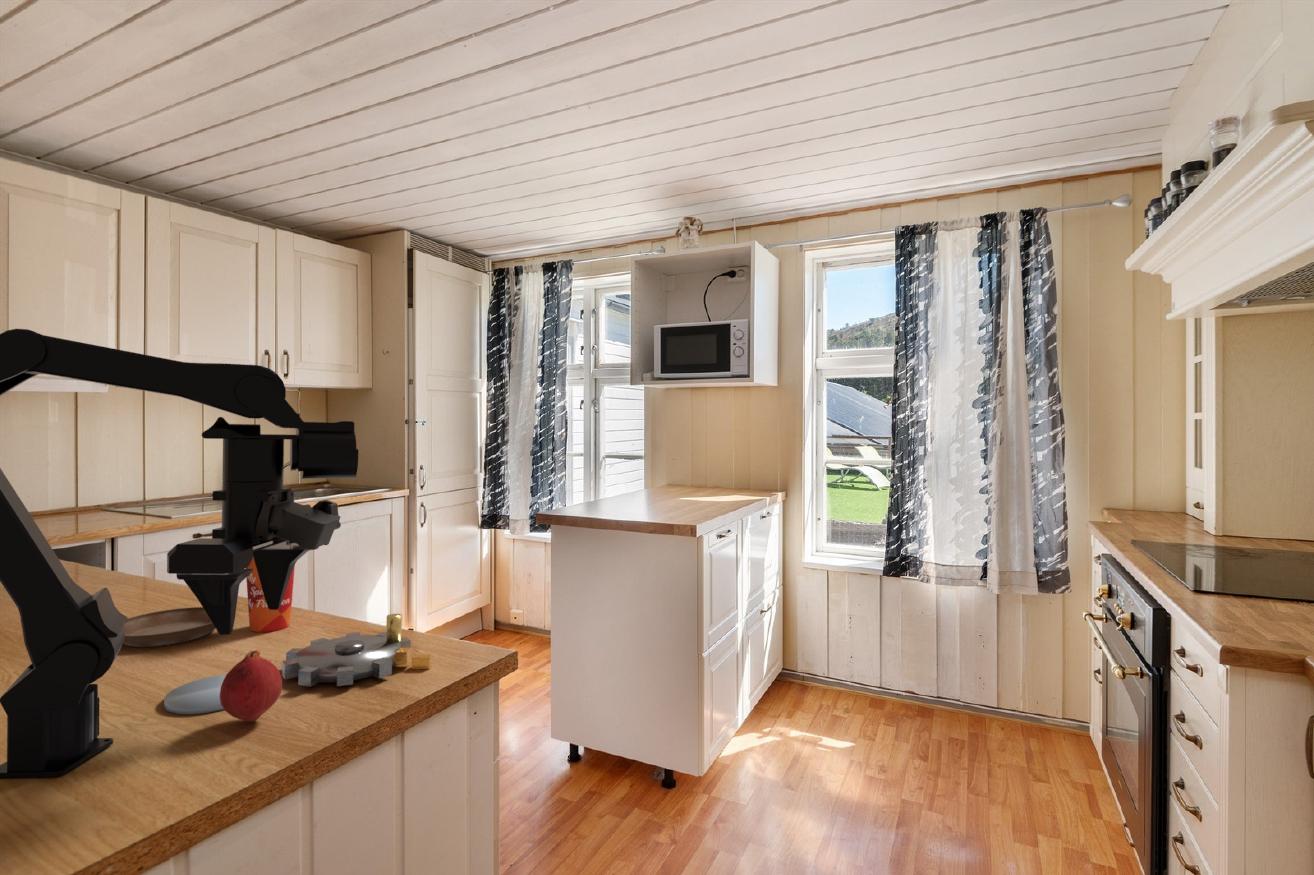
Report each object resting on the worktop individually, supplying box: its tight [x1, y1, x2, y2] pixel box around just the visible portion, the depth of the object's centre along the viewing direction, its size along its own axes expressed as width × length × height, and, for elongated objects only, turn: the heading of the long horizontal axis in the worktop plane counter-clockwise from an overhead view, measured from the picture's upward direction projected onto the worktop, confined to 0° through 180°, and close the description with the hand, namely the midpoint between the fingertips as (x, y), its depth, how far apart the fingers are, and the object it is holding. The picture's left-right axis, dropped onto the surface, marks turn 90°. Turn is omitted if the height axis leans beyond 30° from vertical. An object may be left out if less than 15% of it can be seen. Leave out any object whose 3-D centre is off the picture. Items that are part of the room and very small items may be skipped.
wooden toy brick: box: [411, 653, 433, 670], centre depth 87 cm, size 8×15×2 cm, turn 93°
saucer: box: [122, 606, 216, 648], centre depth 99 cm, size 15×15×3 cm
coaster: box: [163, 673, 227, 715], centre depth 77 cm, size 10×10×1 cm
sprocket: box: [281, 613, 412, 687], centre depth 87 cm, size 16×16×5 cm
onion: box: [220, 648, 283, 723], centre depth 71 cm, size 6×6×8 cm
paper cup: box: [245, 558, 296, 633], centre depth 104 cm, size 8×8×14 cm
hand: (251, 621), depth 70 cm, fingers open, 9 cm apart
